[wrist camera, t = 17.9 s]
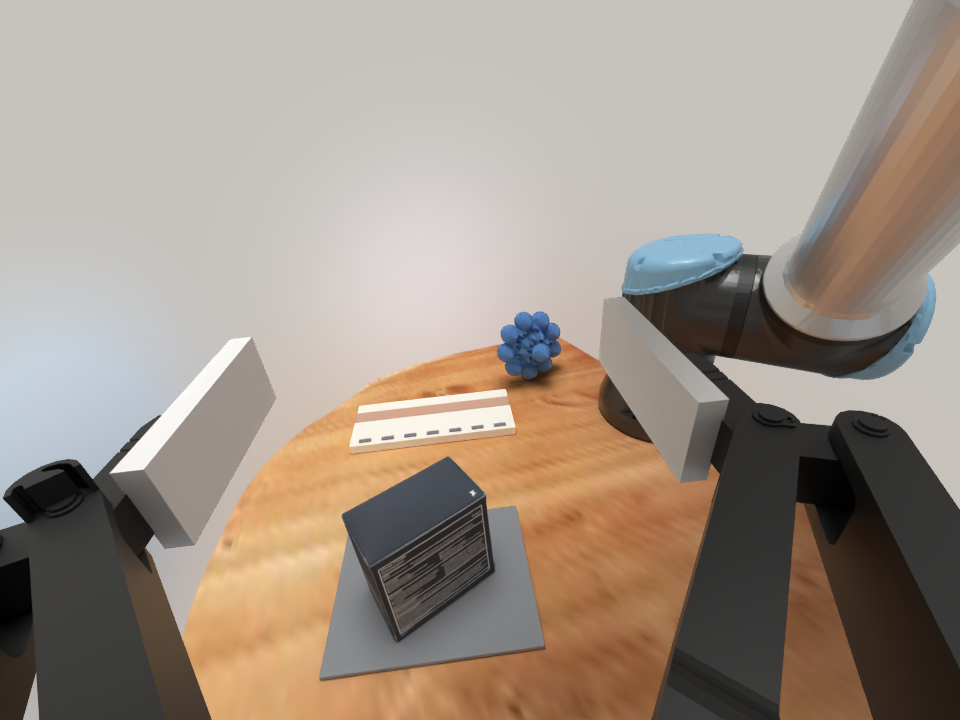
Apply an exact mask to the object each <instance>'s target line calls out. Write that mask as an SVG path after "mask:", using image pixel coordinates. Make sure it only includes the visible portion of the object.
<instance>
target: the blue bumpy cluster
mask: <svg viewBox="0 0 960 720" xmlns="http://www.w3.org/2000/svg"><path fill="white" fill-rule="evenodd" d="M514 320H515V326H514V325H506V326H504V327H503V329H502V330H501V338H502V339H503V341H504V342H505V343H504V344H502V345H500V346H499V348H498V350H497V355H498V357H499V358H500V360H502V361H503V362H506V364H505V369H506V371H507V372H508V374H510V375H511V376H517V375H519V374H521V375H522V377H523V378H525V379H527V380H531V379H533V378H535V377H536V376H537V373H538V371H540V372H547V371H549V370H550V369H551V368H552V360H551V358H550V357H556V356H558V355H559V354H560V352H561V346H560V344H559V342H558V341H556V339H558V338H559V336H560V329H559V327H558V325H556V324H555V323H549V317H548V315H547V314H546V313H544V312H536V313H534V314H533V316H531V315H530V314H529V313H527V312H521V313H519V314H517V315H516V317H515V319H514Z"/></svg>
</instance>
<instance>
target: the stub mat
mask: <svg viewBox="0 0 960 720" xmlns="http://www.w3.org/2000/svg"><path fill="white" fill-rule="evenodd" d="M487 513H488V521H489V529H490V537H491V544H492V553H493V560H494V562H495V571H494V572H493V573H491V574H490V575H489V576H487V577H486V578H485V579H483V580H482V581H481V582H479V583H478V584H477V585H475V586H474V587H473V588H471V589H470V590H469V591H467V592H466V593H464V594H463V595H462V596H460V597H459V598H458V599H456V600H455V601H454V602H452V603H451V604H449V605H448V606H447V607H445V608H444V609H443V610H441V611H440V612H439V613H437V614H436V615H435V616H433V617H432V618H431V619H429V620H428V621H426V622H425V623H424V624H422V625H421V626H420V627H418V628H417V629H416V630H414V631H413V632H412V633H410V634H409V635H407V636H406V637H404V638H403V639H402V640H400V641H399V642H395V640H394V639H393V636H392V634H391V632H390V630H389V629H388V626H387V624H386V622H385V620H384V618H383V616H382V614H381V612H380V610H379V608H378V606H377V604H376V602H375V600H374V598H373V596H372V594H371V592H370V589H369V586H368V583H367V581H366V578H365V576H364V573H363V571H362V568H361V565H360V563H359V560H358V558H357V555H356V553H355V550H354V547H353V545H352V542H351V539H350V537H349V534H348V539H347V544H346V549H345V554H344V559H343V564H342V568H341V573H340V578H339V583H338V588H337V593H336V598H335V603H334V608H333V613H332V618H331V622H330V627H329V632H328V637H327V642H326V647H325V652H324V657H323V662H322V667H321V671H320V676H319V679H320V680H326V679H333V678H340V677H347V676H354V675H361V674H368V673H375V672H382V671H389V670H396V669H403V668H410V667H417V666H424V665H431V664H438V663H445V662H452V661H459V660H466V659H473V658H480V657H487V656H494V655H501V654H508V653H515V652H522V651H529V650H536V649H543V648H545V643H544V639H543V634H542V629H541V624H540V619H539V615H538V610H537V605H536V600H535V595H534V590H533V586H532V581H531V576H530V571H529V566H528V562H527V557H526V552H525V547H524V542H523V538H522V533H521V528H520V523H519V518H518V514H517V509H516V506H510V507H502V508H495V509H487Z"/></svg>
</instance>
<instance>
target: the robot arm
mask: <svg viewBox="0 0 960 720" xmlns="http://www.w3.org/2000/svg"><path fill="white" fill-rule="evenodd" d="M959 243H960V0H913V2H912V4H911V6H910V8H909V10H908V12H907V14H906V16H905V18H904V21H903V23H902V25H901V27H900V29H899V31H898V33H897V35H896V38H895V40H894V42H893V44H892V46H891V48H890V50H889V52H888V54H887V56H886V58H885V60H884V63H883V65H882V67H881V69H880V71H879V73H878V75H877V77H876V79H875V81H874V83H873V86H872V88H871V90H870V92H869V94H868V96H867V98H866V100H865V102H864V105H863V106H862V109H861V111H860V113H859V115H858V117H857V119H856V121H855V123H854V126H853V127H852V129H851V132H850V134H849V136H848V138H847V140H846V142H845V144H844V146H843V149H842V150H841V153H840V155H839V157H838V159H837V161H836V163H835V165H834V167H833V169H832V171H831V173H830V176H829V178H828V180H827V182H826V184H825V186H824V188H823V190H822V192H821V195H820V197H819V199H818V201H817V203H816V205H815V207H814V209H813V211H812V213H811V216H810V217H809V220H808V222H807V224H806V226H805V228H804V230H803V233H802V234H799V235H797V236H795V237H794V238H792V239H790V240H789V241H787V242H786V243H785V244H783V245H782V246H781V247H780V248H779V249H778V250H777V251H776V252H775V253H774V254H773V256H767V255H750V254H743V248H742V243H741V242H740V241H739V240H738V239H736V238H734V237H730V236H720V235H718V234H691V235H681V236H674V237H668V238H663V239H659V240H656V241H652V242H650V243H647V244H645V245H643V246H641V247H639V248H638V249H636V250H635V251H634V252H633V253H632V254H631V256H630V257H629V259H628V262H627V267H626V273H625V279H624V282H623V284H622V292H623V295H622V297H617V298H608V299H604V304H603V316H602V328H601V340H600V353H599V362H600V364H601V365H602V367H603V368H604V370H605V371H606V373H607V374H606V376H605V378H604V379H603V381H602V383H601V386H600V391H599V408H600V411H601V413H602V414H603V416H604V417H605V418H606V420H607V421H608V422H609V423H611V424H612V425H613V426H614V427H616V428H617V429H619V430H620V431H622V432H624V433H626V434H628V435H631V436H633V437H636V438H639V439H642V440H646V441H650V442H653V444H654V445H655V447H656V448H657V450H658V451H659V453H660V454H661V456H662V457H663V459H664V460H665V462H666V463H667V465H668V466H669V468H670V469H671V471H672V472H673V474H674V475H675V477H676V478H677V480H678V481H679V483H683V482H691V481H699V480H707V476H708V473H709V469H710V466H711V463H712V465H713V466H714V467H715V469H716V470H717V471H718V472H719V474H720V476H719V479H718V483H717V486H716V489H715V492H714V496H713V499H712V504H711V508H710V511H709V515H708V519H707V522H706V526H705V529H704V533H703V536H702V540H701V544H700V547H699V551H698V554H697V558H696V562H695V565H694V569H693V572H692V576H691V580H690V583H689V587H688V590H687V594H686V597H685V601H684V605H683V608H682V612H681V615H680V619H679V623H678V626H677V630H676V633H675V637H674V640H673V644H672V648H671V651H670V655H669V658H668V662H667V666H666V669H665V673H664V676H663V680H662V684H661V687H660V691H659V694H658V698H657V701H656V705H655V709H654V712H653V716H652V719H651V720H780V717H779V704H780V692H781V680H782V667H783V655H784V642H785V630H786V618H787V605H788V593H789V581H790V568H791V556H792V544H793V531H794V519H795V506H796V502H799V503H804V506H805V509H806V512H807V515H808V518H809V521H810V524H811V527H812V531H813V534H814V537H815V540H816V543H817V546H818V549H819V552H820V555H821V558H822V562H823V565H824V568H825V571H826V574H827V577H828V580H829V583H830V586H831V589H832V593H833V596H834V599H835V602H836V605H837V608H838V611H839V614H840V617H841V620H842V624H843V627H844V630H845V633H846V636H847V639H848V642H849V645H850V648H851V652H852V655H853V658H854V661H855V664H856V667H857V670H858V673H859V676H860V679H861V683H862V686H863V689H864V692H865V695H866V698H867V701H868V704H869V707H870V710H871V714H872V717H873V720H960V509H959V508H958V507H957V505H956V504H955V502H954V501H953V499H952V498H951V497H950V495H949V494H948V492H947V491H946V489H945V488H944V486H943V485H942V483H941V482H940V481H939V479H938V478H937V476H936V475H935V473H934V472H933V470H932V469H931V467H930V466H929V465H928V463H927V462H926V460H925V459H924V457H923V456H922V454H921V453H920V452H919V450H918V449H917V447H916V446H915V445H914V443H913V441H912V440H911V439H910V437H909V436H908V434H907V433H906V432H905V431H904V430H903V429H902V428H901V427H900V426H899V425H897V424H896V423H894V422H892V421H890V420H889V419H887V418H885V417H883V416H879V415H877V414H874V413H868V412H864V411H852V410H851V411H850V410H849V411H844V412H840V413H839V414H838V415H837V416H836V418H835V420H834V422H833V424H832V426H827V425H815V424H805V423H800V421H799V420H798V419H797V418H796V417H795V416H794V415H793V414H792V413H790V412H788V411H786V410H785V409H782V408H780V407H777V406H774V405H770V404H763V403H756V402H755V401H753V400H752V399H751V398H750V397H749V396H748V395H747V394H745V392H743V391H742V390H741V389H740V388H739V387H738V386H737V385H736V384H734V383H733V382H732V381H731V380H730V379H729V380H728V378H727V376H726V375H724V374H723V373H722V372H720V371H719V369H718V368H716V366H715V365H713V363H714V359H715V356H722V357H727V358H733V359H739V360H745V361H750V362H756V363H762V364H768V365H773V366H779V367H785V368H791V369H796V370H802V371H808V372H814V373H820V374H822V375H825V376H828V377H833V378H854V379H861V380H870V379H876V378H880V377H883V376H886V375H888V374H890V373H892V372H893V371H895V370H896V369H898V368H899V367H900V366H902V365H903V364H904V363H905V362H906V361H907V360H908V359H909V358H910V356H911V355H912V354H913V350H914V345H915V344H919V343H921V341H922V340H923V338H924V336H925V334H926V332H927V330H928V328H929V325H930V323H931V320H932V317H933V314H934V309H935V302H936V291H935V285H934V282H933V280H932V278H931V276H930V275H929V274H928V272H929V271H930V270H932V269H933V268H934V267H935V266H936V265H937V264H938V263H939V262H940V261H941V260H942V259H943V258H944V257H945V256H946V255H947V254H948V253H950V252H951V251H952V250H953V249H954V248H955V247H956V246H957V245H958V244H959ZM275 399H276V396H275V394H274V391H273V389H272V386H271V384H270V381H269V379H268V376H267V374H266V371H265V369H264V366H263V364H262V361H261V359H260V357H259V354H258V351H257V349H256V346H255V344H254V341H253V339H252V337H246V338H237V339H230V340H229V341H228V343H227V344H226V345H225V346H224V347H223V348H222V349H221V350H220V352H218V354H217V355H216V356H215V357H214V358H213V359H212V360H211V361H210V362H209V364H208V365H207V366H206V367H205V368H204V369H203V370H202V372H200V374H199V375H198V376H197V377H196V378H195V379H194V380H193V381H192V382H191V384H190V385H189V386H188V387H187V388H186V389H185V390H184V391H183V393H182V394H181V395H180V396H179V397H178V398H177V399H176V400H175V401H174V403H172V405H171V406H170V407H169V408H168V409H167V410H166V411H165V413H163V415H160V416H157V417H156V418H154V419H153V420H151V421H150V422H148V423H147V424H145V425H144V426H143V427H141V428H140V429H139V430H138V431H137V432H136V434H135V435H134V436H133V437H132V438H131V439H130V442H127V443H126V444H125V445H124V446H123V447H122V449H121V450H120V453H117V454H116V455H115V456H114V457H113V458H112V459H111V460H110V461H109V463H108V464H107V465H106V466H105V467H104V468H103V469H102V470H101V471H100V472H99V473H98V474H97V475H96V476H95V478H94V479H92V478H91V477H90V476H89V474H88V473H87V472H86V470H85V469H84V468H83V466H82V465H81V464H80V463H79V462H78V461H77V460H71V459H66V460H61V461H56V462H53V463H50V464H47V465H44V466H41V467H40V468H37V469H35V470H33V471H32V472H30V473H28V474H26V475H25V476H23V477H22V478H20V479H19V480H18V481H16V482H14V483H13V484H12V485H11V486H10V487H9V488H8V489H7V490H6V492H5V494H4V497H3V499H4V500H5V501H6V502H7V503H8V504H9V505H10V506H11V508H12V509H13V510H14V511H15V512H16V513H17V514H18V515H19V516H20V517H21V518H22V519H23V520H24V521H25V522H24V523H21V524H18V525H15V526H12V527H9V528H6V529H2V530H0V720H23V717H24V714H25V710H26V706H27V703H28V699H29V696H30V692H31V688H32V685H33V681H34V678H35V674H37V690H38V705H39V720H211V717H210V714H209V711H208V709H207V706H206V703H205V700H204V698H203V695H202V692H201V689H200V687H199V684H198V681H197V679H196V676H195V673H194V670H193V668H192V665H191V662H190V659H189V657H188V654H187V651H186V648H185V646H184V643H183V640H182V637H181V635H180V632H179V629H178V627H177V624H176V621H175V618H174V616H173V613H172V610H171V608H170V605H169V602H168V600H167V596H166V594H165V591H164V588H163V586H162V583H161V580H160V577H159V575H158V572H157V569H156V567H155V564H154V561H153V558H152V556H151V554H150V553H149V552H148V551H147V549H146V548H145V547H146V545H147V544H148V543H149V541H150V540H151V538H152V536H153V535H155V536H156V538H157V539H158V540H159V542H160V543H161V544H162V546H163V547H164V548H165V549H167V548H175V547H183V546H191V545H195V543H196V542H197V540H198V538H199V536H200V534H201V533H202V531H203V529H204V527H205V525H206V524H207V522H208V520H209V518H210V516H211V515H212V513H213V511H214V509H215V507H216V505H217V504H218V502H219V500H220V498H221V496H222V495H223V493H224V491H225V489H226V488H227V486H228V484H229V482H230V480H231V479H232V477H233V475H234V473H235V471H236V470H237V468H238V466H239V464H240V462H241V460H242V459H243V457H244V455H245V453H246V451H247V450H248V448H249V446H250V444H251V442H252V441H253V439H254V437H255V435H256V434H257V432H258V430H259V428H260V426H261V425H262V423H263V421H264V419H265V417H266V416H267V414H268V412H269V410H270V408H271V407H272V405H273V403H274V401H275Z"/></svg>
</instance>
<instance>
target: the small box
mask: <svg viewBox="0 0 960 720" xmlns="http://www.w3.org/2000/svg"><path fill="white" fill-rule="evenodd" d="M342 519H343V521H344V524H345V526H346V529H347V531H348V534H349V537H350V539H351V542H352V545H353V547H354V550H355V553H356V555H357V558H358V560H359V563H360V565H361V568H362V571H363V573H364V576H365V578H366V581H367V583H368V586H369V589H370V592H371V594H372V596H373V598H374V600H375V602H376V604H377V606H378V608H379V610H380V612H381V614H382V616H383V618H384V620H385V622H386V624H387V626H388V629H389V630H390V632H391V634H392V636H393V639H394V640H395V642H399V641H400V640H402V639H403V638H404V637H406V636H407V635H409V634H410V633H412V632H413V631H414V630H416V629H417V628H418V627H420V626H421V625H422V624H424V623H425V622H426V621H428V620H429V619H431V618H432V617H433V616H435V615H436V614H437V613H439V612H440V611H441V610H443V609H444V608H445V607H447V606H448V605H449V604H451V603H452V602H454V601H455V600H456V599H458V598H459V597H460V596H462V595H463V594H464V593H466V592H467V591H469V590H470V589H471V588H473V587H474V586H475V585H477V584H478V583H479V582H481V581H482V580H483V579H485V578H486V577H487V576H489V575H490V574H491V573H493V572H494V571H495V562H494V560H493V553H492V544H491V537H490V529H489V521H488V513H487V506H486V493H485V492H484V491H483V490H482V489H481V488H480V487H479V486H478V485H477V484H476V483H475V482H474V481H473V480H472V479H471V478H470V477H469V476H468V475H467V474H466V473H465V472H464V471H463V470H462V469H461V468H460V467H459V466H458V465H457V464H456V463H455V462H454V461H453V459H451V457H449V456H448V457H446V458H444V459H442V460H440V461H438V462H437V463H435V464H433V465H431V466H429V467H428V468H426V469H424V470H422V471H420V472H419V473H417V474H415V475H413V476H411V477H410V478H408V479H406V480H404V481H402V482H400V483H398V484H397V485H395V486H393V487H391V488H389V489H388V490H386V491H384V492H382V493H380V494H378V495H377V496H375V497H373V498H371V499H369V500H367V501H366V502H364V503H362V504H360V505H358V506H356V507H354V508H353V509H351V510H349V511H347V512H345V513H343V514H342Z"/></svg>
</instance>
